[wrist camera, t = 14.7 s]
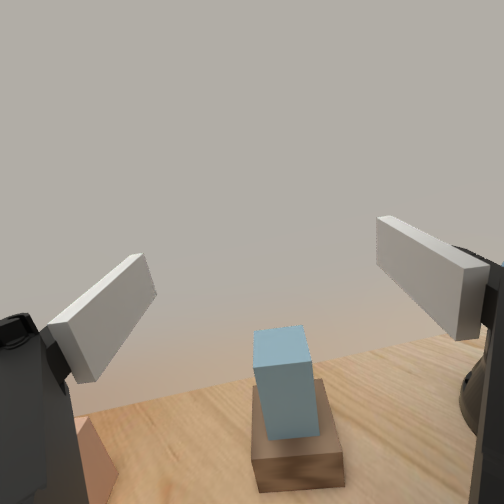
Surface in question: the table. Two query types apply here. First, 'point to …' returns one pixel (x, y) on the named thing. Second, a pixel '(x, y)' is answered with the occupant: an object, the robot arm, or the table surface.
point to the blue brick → (285, 383)
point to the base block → (297, 452)
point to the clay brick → (95, 462)
